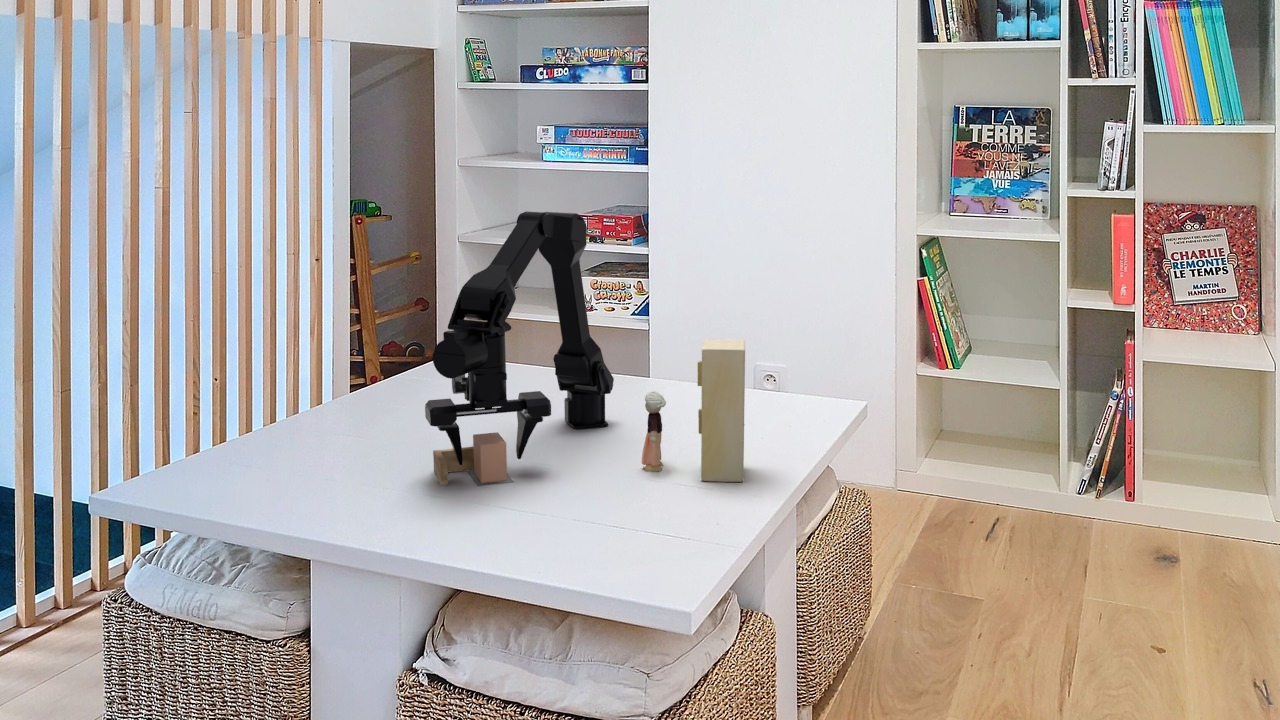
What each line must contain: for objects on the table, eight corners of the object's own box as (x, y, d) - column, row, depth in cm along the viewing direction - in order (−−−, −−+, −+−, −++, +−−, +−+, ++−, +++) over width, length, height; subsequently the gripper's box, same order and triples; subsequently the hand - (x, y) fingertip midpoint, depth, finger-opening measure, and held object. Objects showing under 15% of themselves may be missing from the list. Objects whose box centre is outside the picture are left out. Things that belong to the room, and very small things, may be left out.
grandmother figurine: (639, 461, 192) (639, 385, 189) (662, 460, 192) (663, 385, 189) (643, 476, 184) (643, 398, 181) (668, 475, 184) (668, 397, 182)
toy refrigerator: (697, 465, 189) (699, 338, 185) (743, 466, 189) (746, 338, 184) (695, 481, 182) (697, 349, 177) (743, 483, 181) (746, 350, 176)
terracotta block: (507, 480, 182) (506, 442, 181) (481, 482, 181) (480, 445, 179) (498, 468, 187) (498, 432, 186) (474, 471, 186) (472, 434, 185)
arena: (505, 464, 190) (504, 443, 189) (517, 481, 182) (517, 459, 181) (433, 471, 186) (433, 450, 185) (443, 489, 178) (442, 467, 177)
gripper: (533, 349, 190) (535, 441, 194) (417, 357, 184) (421, 452, 188) (551, 364, 180) (552, 461, 184) (429, 373, 174) (433, 473, 178)
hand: (489, 461), depth 183 cm, fingers open, 9 cm apart
